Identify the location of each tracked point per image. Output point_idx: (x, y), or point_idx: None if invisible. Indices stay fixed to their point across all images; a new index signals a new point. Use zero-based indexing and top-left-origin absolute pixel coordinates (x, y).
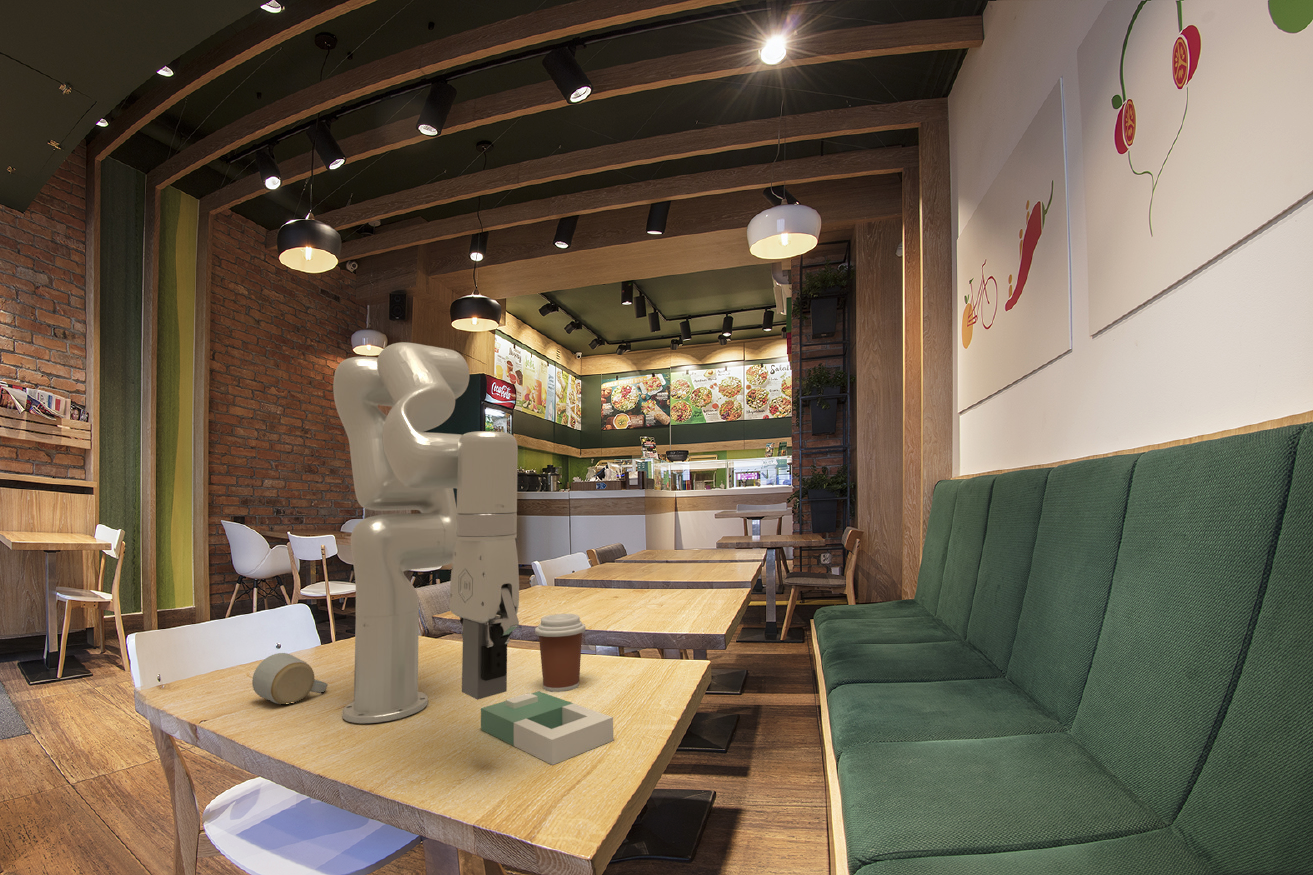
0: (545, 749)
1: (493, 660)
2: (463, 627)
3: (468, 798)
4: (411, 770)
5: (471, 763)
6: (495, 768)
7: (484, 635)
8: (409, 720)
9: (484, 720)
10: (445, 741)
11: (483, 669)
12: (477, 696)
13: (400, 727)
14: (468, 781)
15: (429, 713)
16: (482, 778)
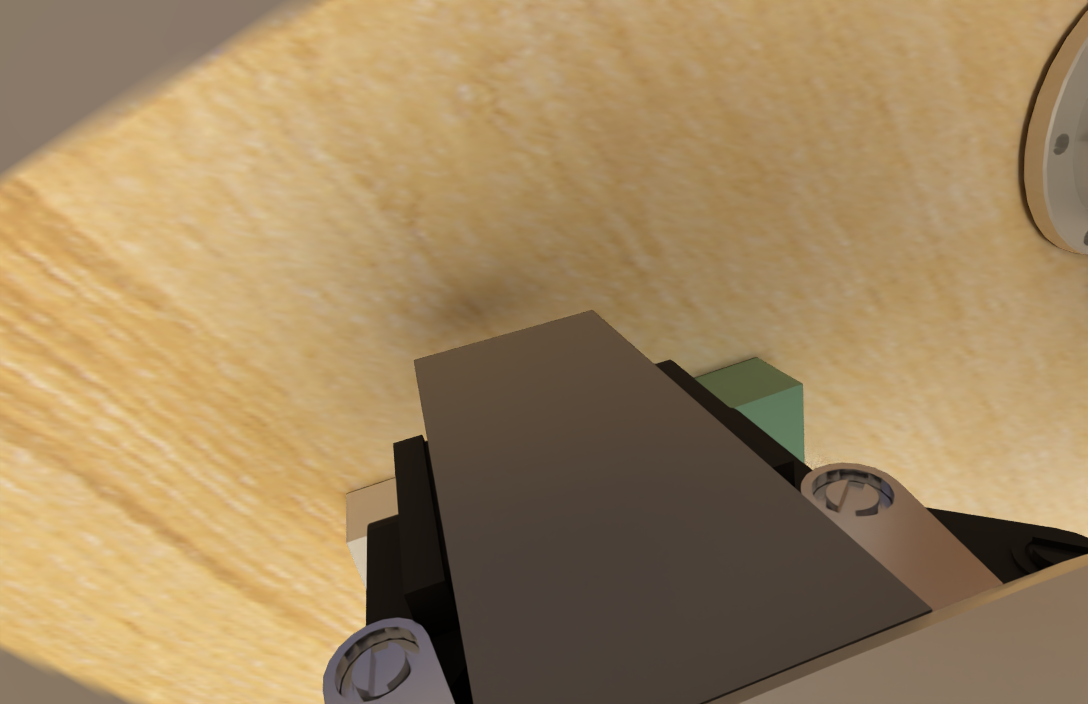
0: (385, 502)
1: (368, 581)
2: (833, 537)
3: (237, 204)
4: (594, 79)
5: (519, 275)
6: (431, 335)
7: (448, 695)
8: (992, 169)
9: (756, 377)
10: (748, 238)
11: (398, 477)
12: (417, 367)
13: (962, 128)
14: (380, 235)
15: (994, 240)
16: (376, 281)
